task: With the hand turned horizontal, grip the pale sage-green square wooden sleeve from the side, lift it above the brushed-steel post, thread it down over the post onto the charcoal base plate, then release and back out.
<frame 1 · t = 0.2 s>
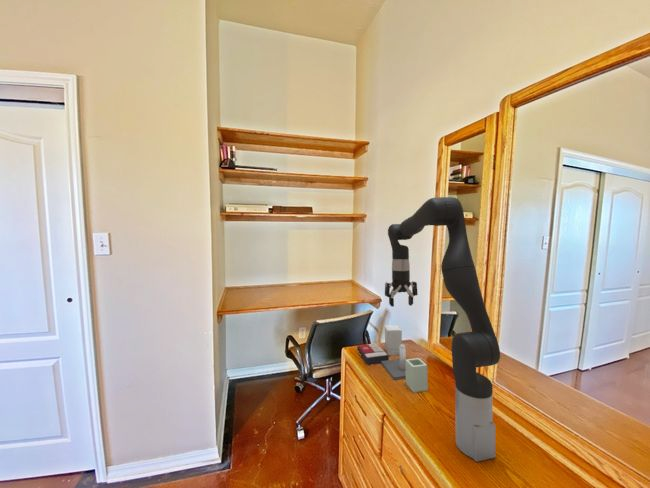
hand: (401, 305, 118), 29 cm above the dresser top, tool pointing down, fingers open, 8 cm apart
dark gray paneled box: (372, 357, 132), on the dresser top
supplement box: (393, 352, 136), on the dresser top
post stand: (402, 371, 117), on the dresser top
sleeve: (416, 386, 106), on the dresser top
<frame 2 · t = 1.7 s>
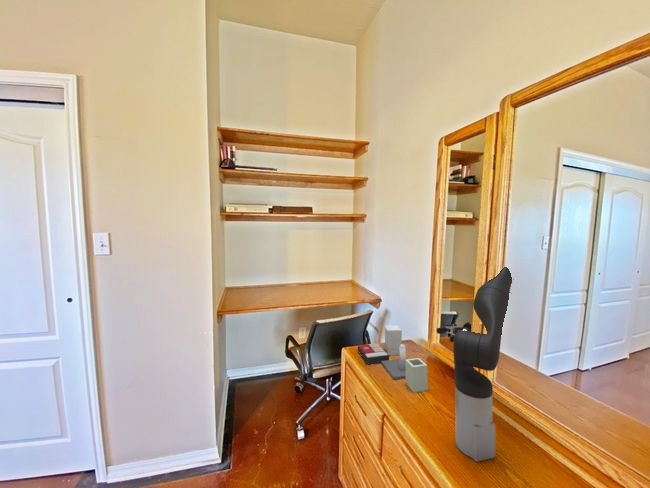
hand: (443, 335, 107), 20 cm above the dresser top, tool horizontal, fingers open, 8 cm apart
nothing on the dresser top moved.
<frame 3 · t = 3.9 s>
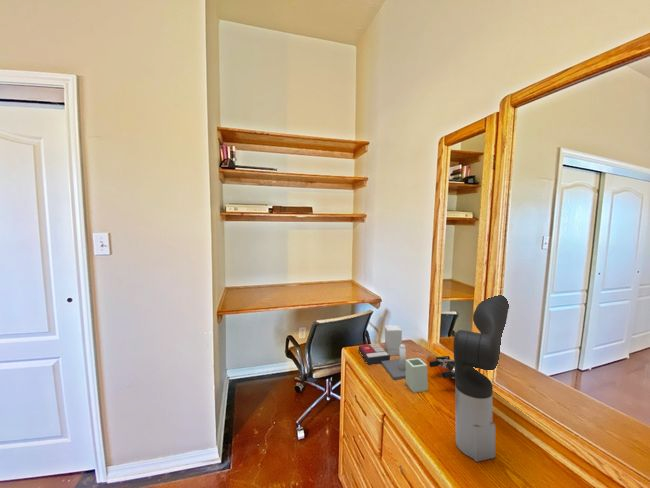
hand: (435, 369, 107), 6 cm above the dresser top, tool horizontal, fingers open, 8 cm apart
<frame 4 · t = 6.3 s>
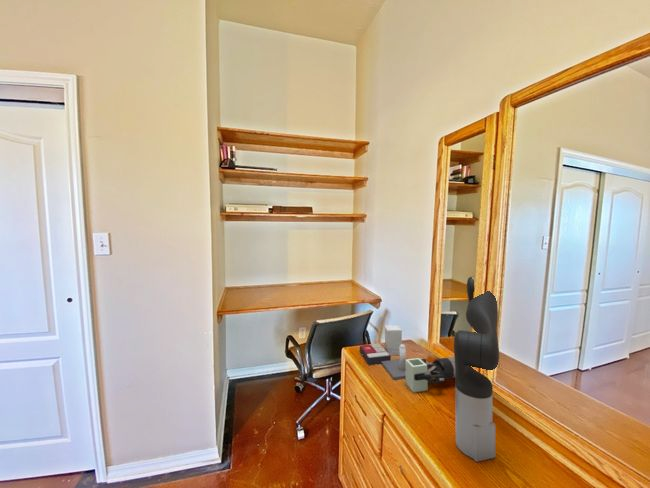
hand: (410, 372, 105), 6 cm above the dresser top, tool horizontal, fingers closed on sleeve, 6 cm apart
sleeve: (416, 386, 106), on the dresser top, touching gripper
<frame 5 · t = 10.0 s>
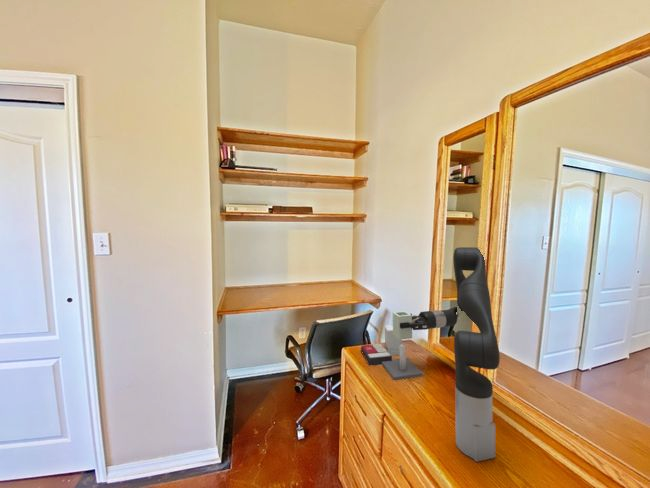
hand: (396, 323, 115), 22 cm above the dresser top, tool horizontal, fingers closed on sleeve, 6 cm apart
dark gray paneled box: (375, 358, 132), on the dresser top, touching post stand
sleeve: (402, 336, 116), point 16 cm above the dresser top, touching gripper
everything else where it was.
when the fingers open (8 cm above the dresser top, at t = 13.7 s): sleeve drops 1 cm, resting on post stand.
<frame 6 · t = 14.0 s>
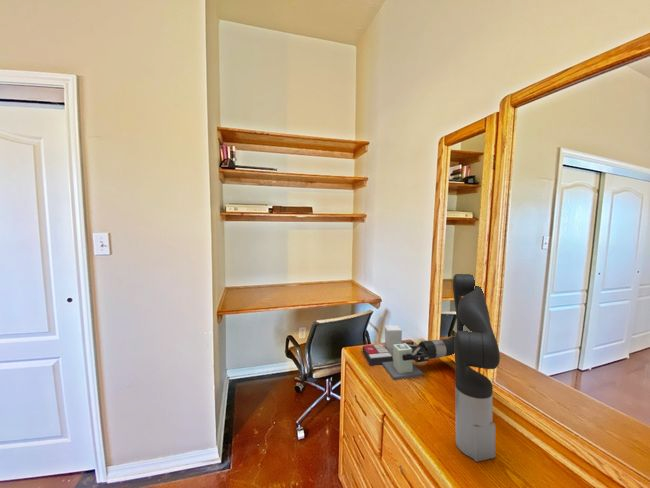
hand: (398, 353, 116), 9 cm above the dresser top, tool horizontal, fingers open, 8 cm apart
sleeve: (402, 369, 117), point 1 cm above the dresser top, touching post stand
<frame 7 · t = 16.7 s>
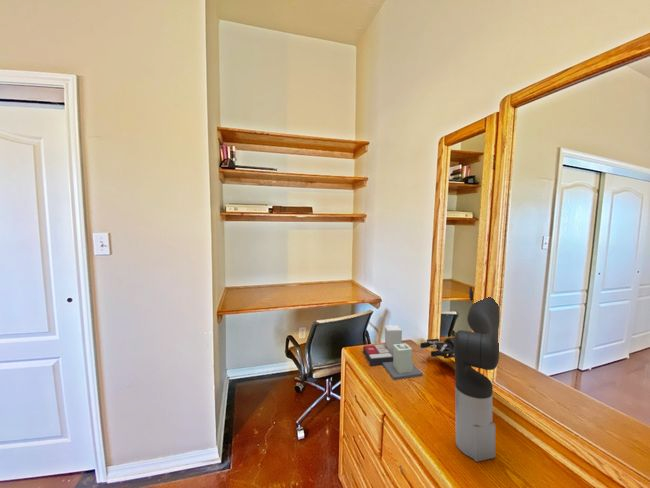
hand: (425, 349, 118), 9 cm above the dresser top, tool horizontal, fingers open, 8 cm apart
dark gray paneled box: (377, 358, 131), on the dresser top
everything else where it was.
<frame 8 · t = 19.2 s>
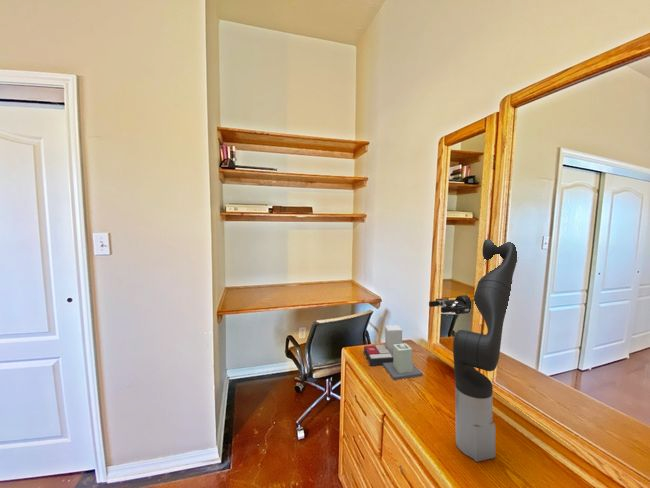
hand: (435, 307, 110), 30 cm above the dresser top, tool horizontal, fingers open, 8 cm apart
at the end: sleeve 0.1 cm off-centre on the post stand, point 1.2 cm above the post stand's base; sleeve tilted 0°; the gripper is holding nothing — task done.
